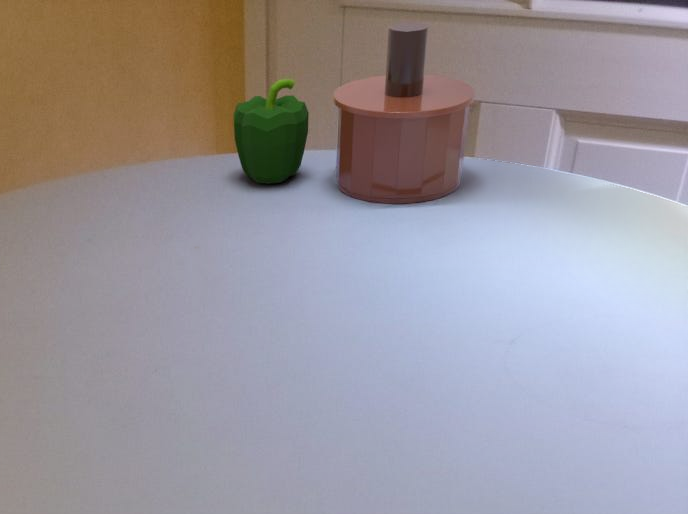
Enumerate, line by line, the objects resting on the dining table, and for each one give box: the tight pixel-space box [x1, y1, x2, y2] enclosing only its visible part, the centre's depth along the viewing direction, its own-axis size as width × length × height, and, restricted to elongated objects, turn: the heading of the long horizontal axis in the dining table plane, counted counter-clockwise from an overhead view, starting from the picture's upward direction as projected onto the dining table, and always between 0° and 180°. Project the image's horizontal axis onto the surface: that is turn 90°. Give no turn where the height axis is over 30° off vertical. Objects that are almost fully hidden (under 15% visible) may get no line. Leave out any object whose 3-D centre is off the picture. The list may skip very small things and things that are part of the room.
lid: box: [332, 22, 476, 119], centre depth 102 cm, size 15×15×7 cm
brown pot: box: [335, 104, 471, 204], centre depth 107 cm, size 14×14×8 cm
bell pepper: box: [233, 78, 310, 185], centre depth 110 cm, size 8×8×10 cm
